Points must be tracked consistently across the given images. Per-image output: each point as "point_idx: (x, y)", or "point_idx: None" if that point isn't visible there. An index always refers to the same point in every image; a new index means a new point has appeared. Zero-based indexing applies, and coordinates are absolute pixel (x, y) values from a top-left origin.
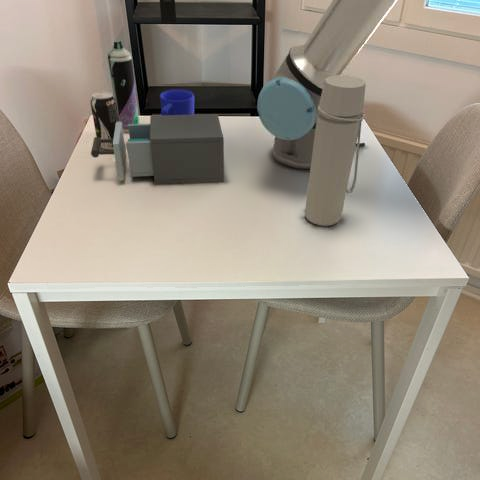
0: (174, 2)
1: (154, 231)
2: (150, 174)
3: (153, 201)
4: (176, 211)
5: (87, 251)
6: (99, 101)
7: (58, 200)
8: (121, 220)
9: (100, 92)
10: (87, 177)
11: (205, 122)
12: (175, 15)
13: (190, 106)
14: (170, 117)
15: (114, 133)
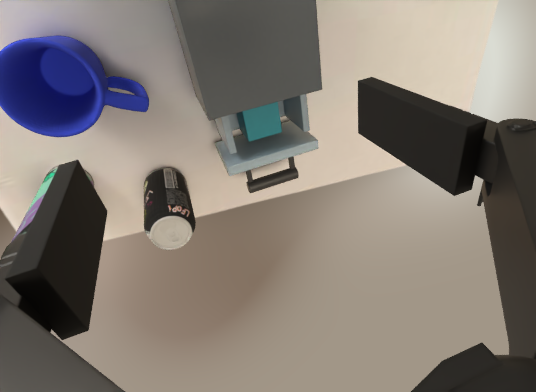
0: (415, 95)
1: (408, 40)
2: None
3: (337, 61)
4: (366, 17)
5: None
6: (192, 227)
7: (331, 180)
8: None
9: (155, 242)
10: None
11: None
12: (384, 83)
13: (68, 44)
14: (212, 74)
15: (279, 160)
